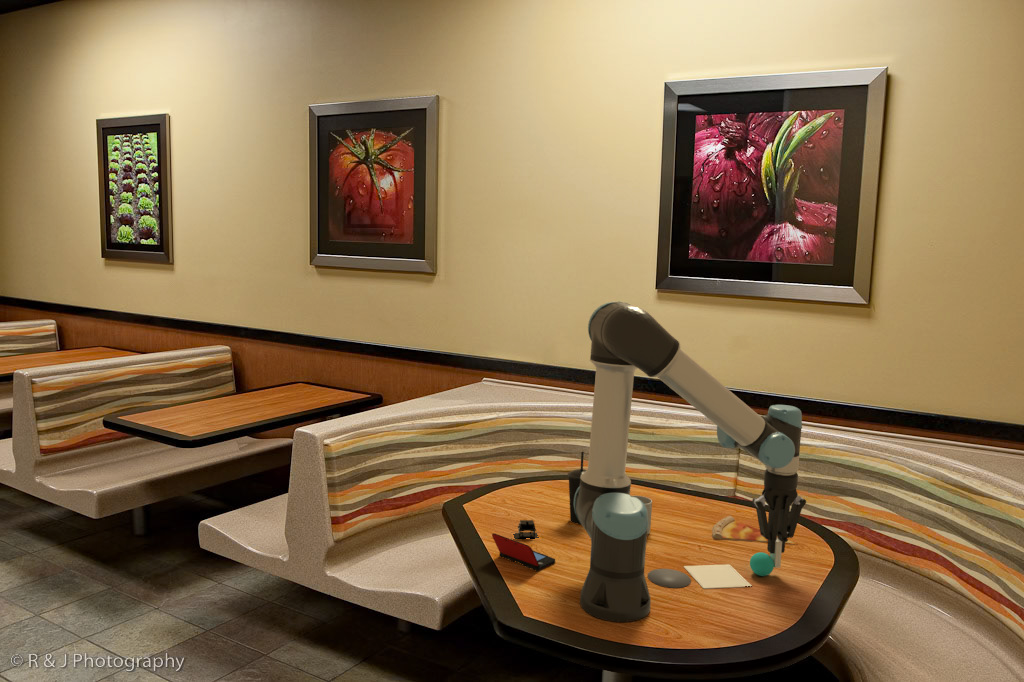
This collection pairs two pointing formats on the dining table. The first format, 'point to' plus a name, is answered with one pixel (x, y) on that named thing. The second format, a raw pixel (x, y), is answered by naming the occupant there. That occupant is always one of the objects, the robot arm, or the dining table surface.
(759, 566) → the ball
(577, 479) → the drinking cup
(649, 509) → the cup
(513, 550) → the handheld game console
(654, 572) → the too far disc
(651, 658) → the dining table surface
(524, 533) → the black boxy piece
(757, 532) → the pizza slice
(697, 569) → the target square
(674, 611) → the dining table surface
